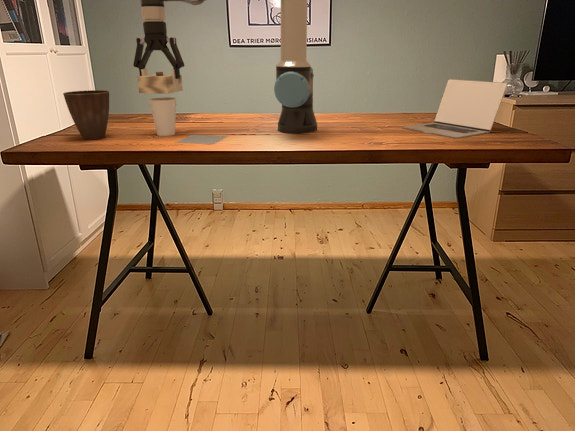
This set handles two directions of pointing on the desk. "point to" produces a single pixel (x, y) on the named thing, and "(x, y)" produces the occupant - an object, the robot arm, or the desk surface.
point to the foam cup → (164, 115)
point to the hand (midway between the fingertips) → (161, 88)
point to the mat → (202, 139)
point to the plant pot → (89, 112)
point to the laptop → (465, 109)
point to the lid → (158, 84)
